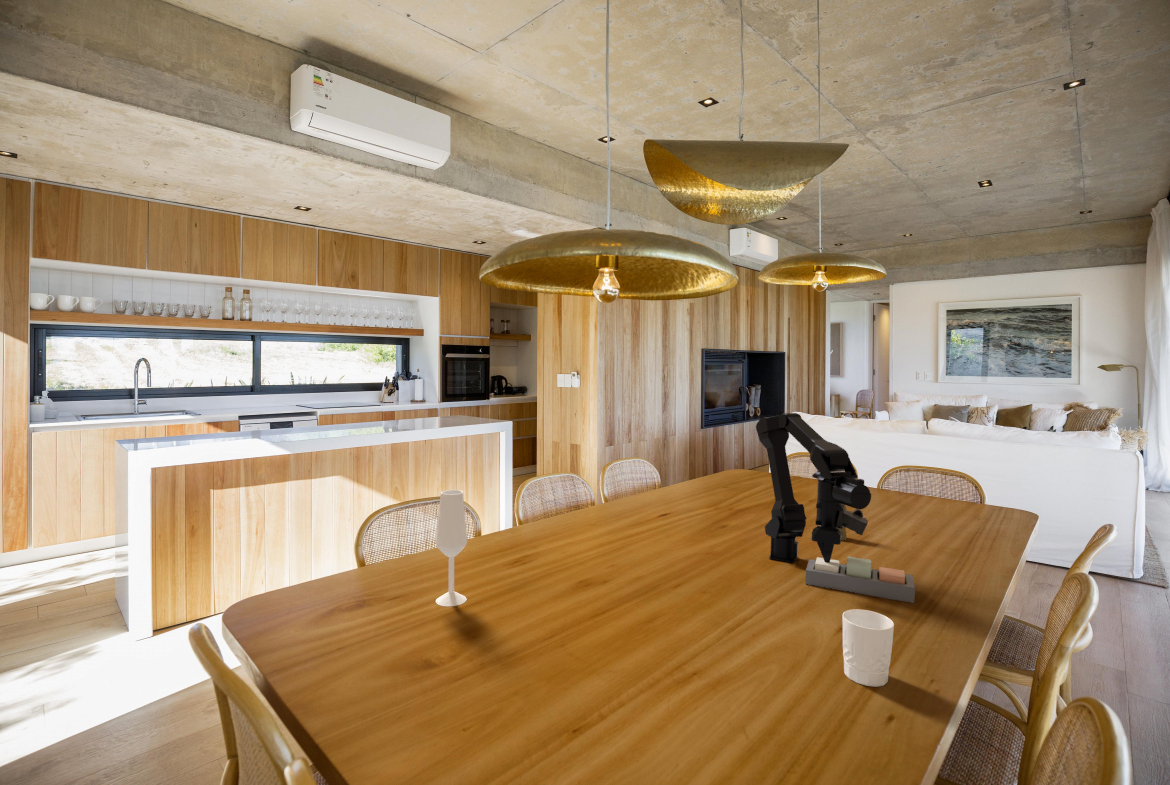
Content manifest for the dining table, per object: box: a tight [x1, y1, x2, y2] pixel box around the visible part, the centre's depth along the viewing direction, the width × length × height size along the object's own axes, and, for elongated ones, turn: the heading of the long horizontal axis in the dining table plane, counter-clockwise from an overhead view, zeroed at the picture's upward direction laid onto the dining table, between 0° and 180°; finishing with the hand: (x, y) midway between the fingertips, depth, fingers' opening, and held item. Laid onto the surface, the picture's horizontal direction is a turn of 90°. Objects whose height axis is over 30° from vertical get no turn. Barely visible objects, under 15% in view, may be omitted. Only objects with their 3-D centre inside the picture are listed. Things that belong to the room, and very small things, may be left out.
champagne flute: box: [435, 489, 468, 607], centre depth 126 cm, size 7×7×24 cm
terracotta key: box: [878, 566, 906, 584], centre depth 135 cm, size 5×5×4 cm
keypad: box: [804, 558, 916, 604], centre depth 138 cm, size 23×9×4 cm, turn 64°
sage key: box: [846, 556, 872, 578], centre depth 138 cm, size 5×5×4 cm
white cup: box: [842, 608, 895, 688], centre depth 98 cm, size 8×8×10 cm
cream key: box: [815, 556, 840, 573], centre depth 142 cm, size 5×5×4 cm
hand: (827, 562), depth 142 cm, fingers closed, pressing on cream key
